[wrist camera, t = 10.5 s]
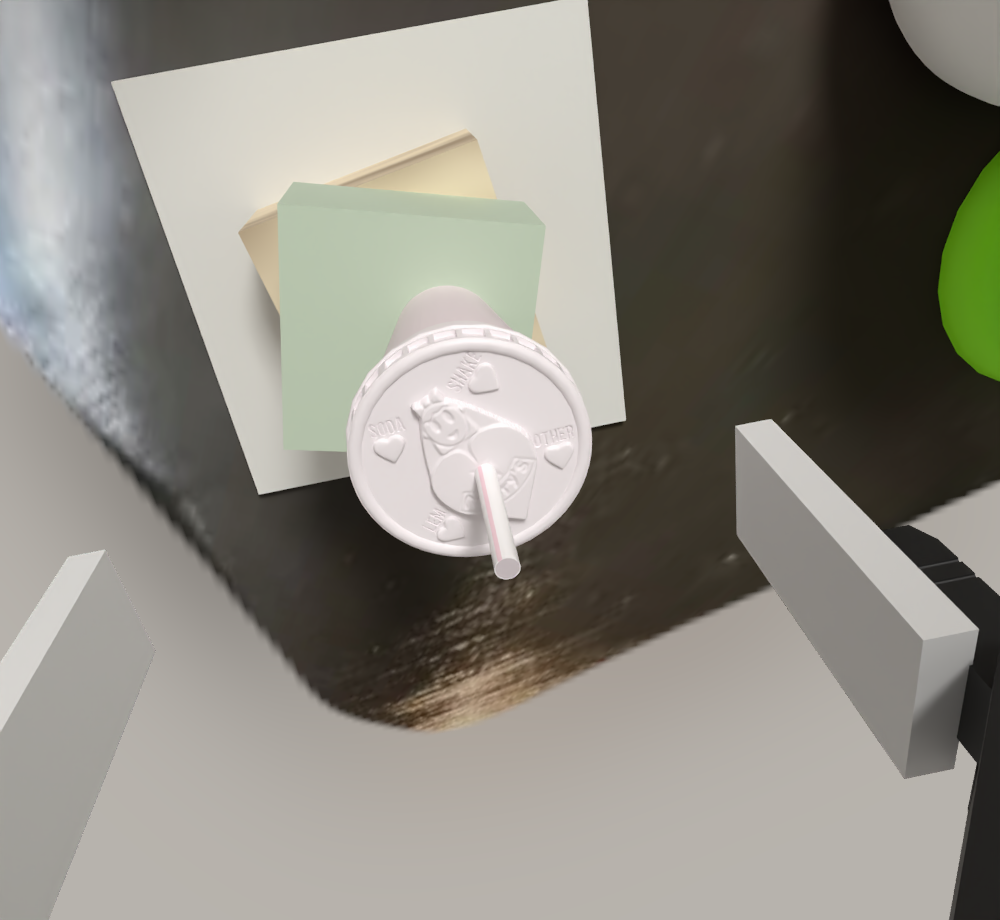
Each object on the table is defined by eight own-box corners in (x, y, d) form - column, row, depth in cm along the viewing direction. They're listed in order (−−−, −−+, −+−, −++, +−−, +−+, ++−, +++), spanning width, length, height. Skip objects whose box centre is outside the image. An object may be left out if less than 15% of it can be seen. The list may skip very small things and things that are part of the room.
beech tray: (256, 210, 35) (238, 232, 31) (465, 128, 35) (477, 139, 30) (349, 401, 40) (344, 444, 35) (534, 331, 39) (553, 366, 35)
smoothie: (431, 446, 30) (461, 714, 18) (319, 320, 28) (263, 536, 15) (567, 349, 29) (697, 564, 17) (464, 207, 26) (530, 341, 14)
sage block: (293, 181, 30) (277, 203, 26) (523, 201, 31) (545, 225, 27) (296, 398, 34) (283, 449, 30) (501, 407, 36) (517, 457, 31)
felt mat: (113, 81, 32) (110, 81, 32) (584, -4, 33) (587, -5, 33) (260, 491, 42) (258, 494, 42) (623, 417, 43) (625, 420, 42)
